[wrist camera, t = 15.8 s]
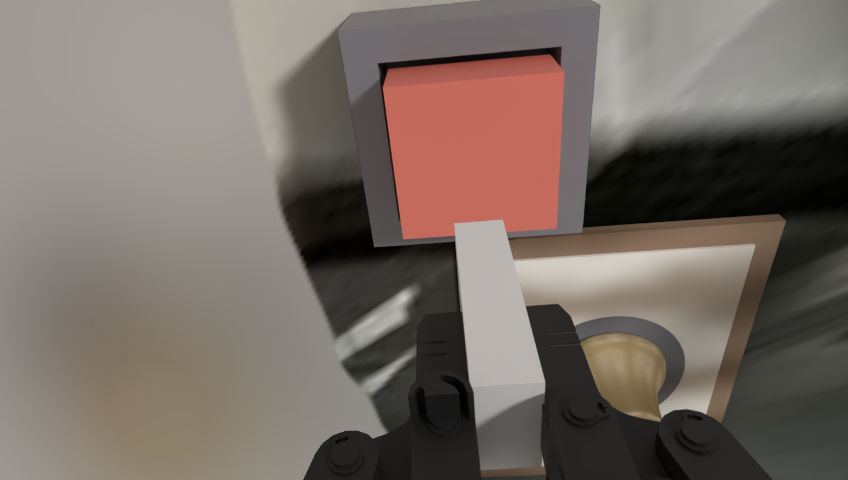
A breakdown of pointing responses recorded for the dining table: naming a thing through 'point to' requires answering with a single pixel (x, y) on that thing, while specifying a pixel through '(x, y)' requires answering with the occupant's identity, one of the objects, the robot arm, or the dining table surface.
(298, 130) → the dining table surface
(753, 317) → the drawing board
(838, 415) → the dining table surface
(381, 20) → the button housing
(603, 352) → the hand bell
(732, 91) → the dining table surface
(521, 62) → the button
